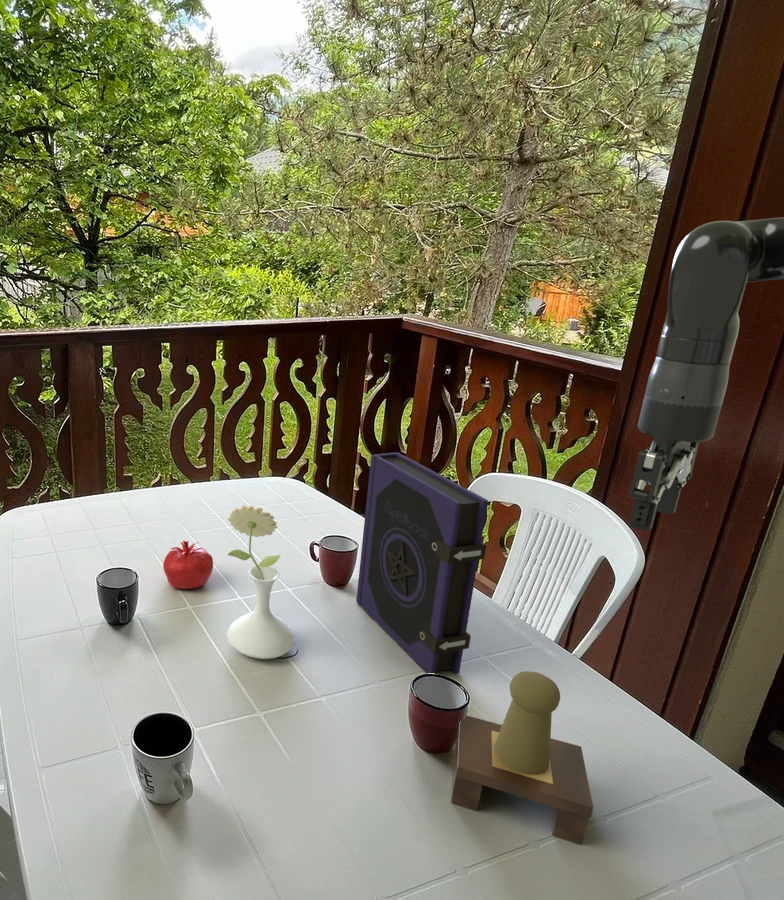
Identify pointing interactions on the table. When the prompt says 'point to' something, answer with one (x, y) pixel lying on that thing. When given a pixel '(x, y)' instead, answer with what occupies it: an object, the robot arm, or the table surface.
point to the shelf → (522, 778)
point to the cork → (528, 723)
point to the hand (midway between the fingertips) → (652, 520)
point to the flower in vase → (259, 594)
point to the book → (420, 559)
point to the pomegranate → (188, 566)
